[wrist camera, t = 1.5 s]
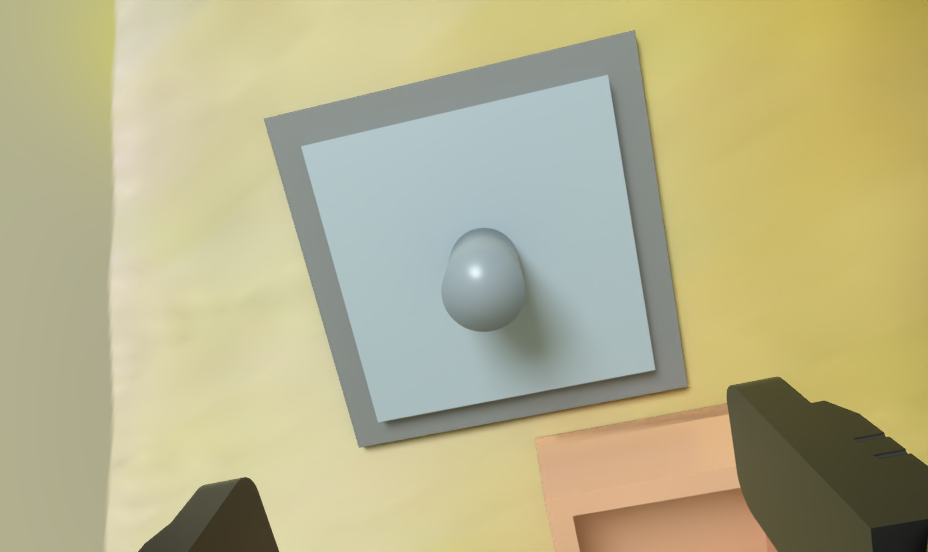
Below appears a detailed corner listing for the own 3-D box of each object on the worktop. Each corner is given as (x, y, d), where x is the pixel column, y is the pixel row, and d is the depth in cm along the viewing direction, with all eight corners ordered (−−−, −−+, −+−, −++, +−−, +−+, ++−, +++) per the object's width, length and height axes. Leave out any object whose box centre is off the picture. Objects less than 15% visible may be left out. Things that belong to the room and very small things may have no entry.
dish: (534, 438, 30) (544, 499, 25) (762, 397, 29) (818, 451, 24) (574, 622, 32) (590, 710, 27) (785, 589, 31) (840, 674, 26)
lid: (306, 145, 26) (256, 150, 20) (604, 76, 25) (638, 60, 19) (380, 414, 29) (355, 483, 23) (650, 363, 28) (691, 422, 22)
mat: (267, 119, 26) (263, 118, 26) (631, 32, 25) (634, 30, 24) (361, 442, 30) (359, 447, 29) (684, 382, 29) (687, 386, 28)
